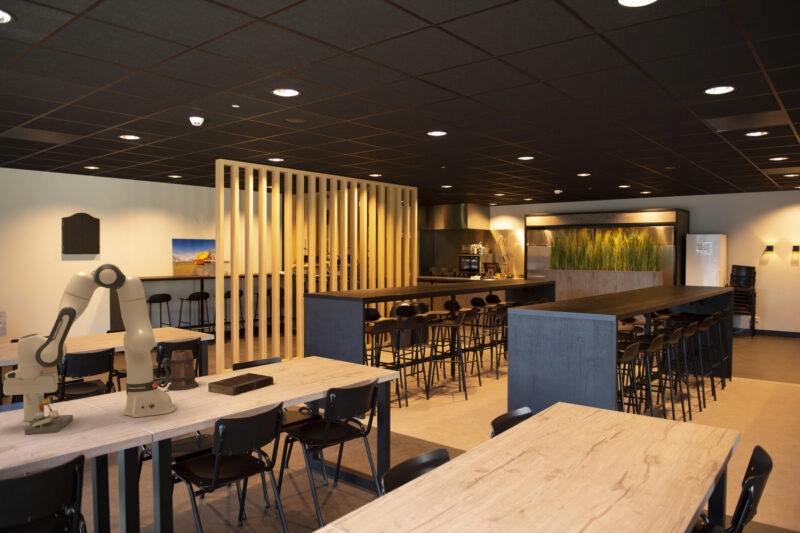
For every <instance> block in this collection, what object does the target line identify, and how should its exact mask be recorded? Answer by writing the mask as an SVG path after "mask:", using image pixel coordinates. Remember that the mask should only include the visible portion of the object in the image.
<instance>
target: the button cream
mask: <svg viewBox="0 0 800 533" xmlns="http://www.w3.org/2000/svg"><path fill="white" fill-rule="evenodd" d="M58 413H59V411H58V410H53V411H50V410H49V412H48V415H49V418H57V417H58Z"/></svg>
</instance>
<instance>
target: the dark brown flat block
mask: <svg viewBox="0 0 800 533" xmlns="http://www.w3.org/2000/svg"><path fill="white" fill-rule="evenodd" d="M207 385H208V387H207V388H208V393H212V394H218V395H219V394H220V395H225V396H231V397H235V396H238V395H241V394H244V393H247V392H252V391H255V390H257V389H262V388H265V387H269V386H272V385H274V376H271V375H266V374H265V375H264V374H257V373H252V372H248V373H243V374H239V375H236V376H231V377H229V378H224V379H220V380H216V381H213V382H208V384H207Z"/></svg>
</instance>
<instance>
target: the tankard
mask: <svg viewBox="0 0 800 533" xmlns="http://www.w3.org/2000/svg"><path fill="white" fill-rule="evenodd" d="M194 360H195V357H194V355H193V350H191V349H183V350H181V349H179V350H178V349H177V350H174V351H172V353H171V358H169V357H168V358H167V357H165V358H163V359H162V360H161V364H162V367H163V370H164V371H165V372H164V373H165V380H163V379H159V380H157V381H158V388H162V389H165V388H166V390H168V391H173V392H178V391H180V392H181V391H182V392H183V391H188V390H189V391H190V390H194V389H196V388H199V387H200V384H199V383H198V382H197V381H196V374H195V361H194ZM169 368H170V371H169ZM169 382H170V383H169Z"/></svg>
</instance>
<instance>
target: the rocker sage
mask: <svg viewBox="0 0 800 533" xmlns="http://www.w3.org/2000/svg"><path fill="white" fill-rule="evenodd" d="M51 420H52V418H48V419H45V420H42V421H39V422H36V423H34V424H32V426H33V427H35V426H38V425H41V424H44V423H47V422H50V421H51Z"/></svg>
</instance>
